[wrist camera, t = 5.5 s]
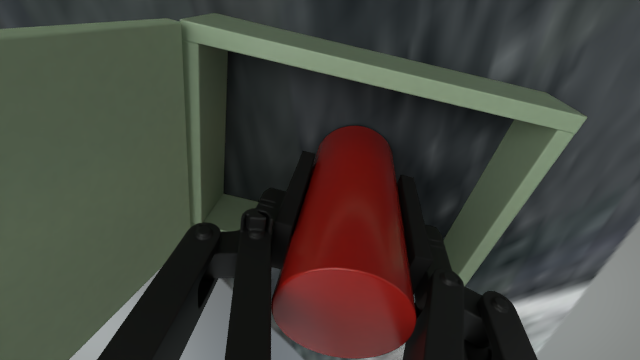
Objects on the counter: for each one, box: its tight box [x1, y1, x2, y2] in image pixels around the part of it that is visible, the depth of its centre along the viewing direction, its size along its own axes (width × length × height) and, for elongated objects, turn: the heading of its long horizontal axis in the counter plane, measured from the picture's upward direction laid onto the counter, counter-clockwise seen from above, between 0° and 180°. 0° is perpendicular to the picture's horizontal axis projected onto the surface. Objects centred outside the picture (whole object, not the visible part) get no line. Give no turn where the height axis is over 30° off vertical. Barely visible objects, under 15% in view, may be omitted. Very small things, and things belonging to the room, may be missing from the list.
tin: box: [271, 126, 416, 359], centre depth 16 cm, size 5×5×12 cm
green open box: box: [180, 13, 587, 286], centre depth 20 cm, size 20×14×5 cm
